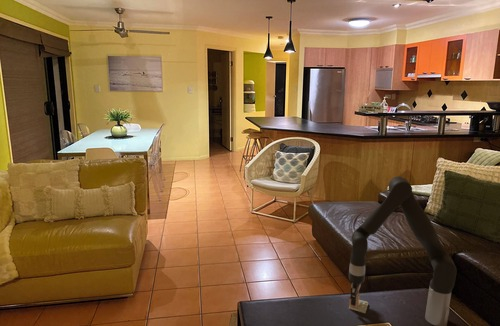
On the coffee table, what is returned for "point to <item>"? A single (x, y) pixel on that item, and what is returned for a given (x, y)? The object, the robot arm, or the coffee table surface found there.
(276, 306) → the coffee table surface
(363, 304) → the stud plate
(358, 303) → the brick stack
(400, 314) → the coffee table surface
